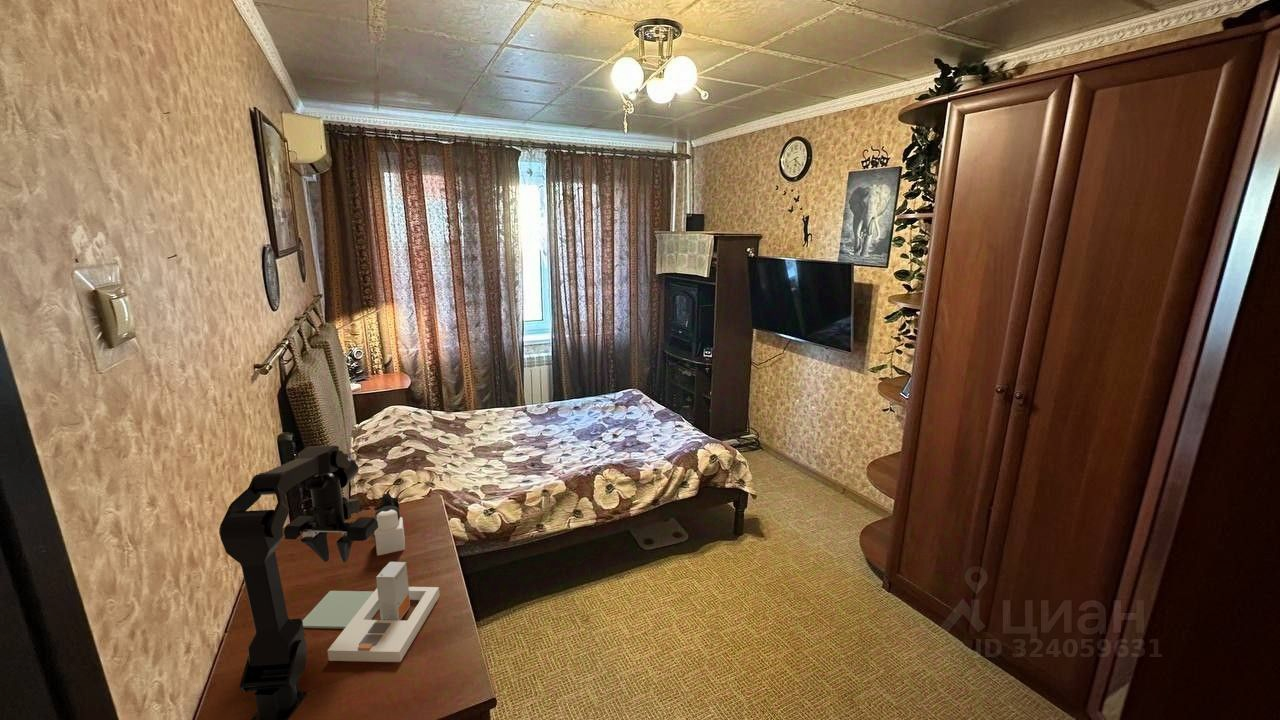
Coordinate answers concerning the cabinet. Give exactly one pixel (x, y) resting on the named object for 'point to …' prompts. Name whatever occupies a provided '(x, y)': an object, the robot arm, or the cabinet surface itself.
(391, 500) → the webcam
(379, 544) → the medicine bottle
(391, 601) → the skincare box
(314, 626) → the mat
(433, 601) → the cream rectangular frame
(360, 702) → the cabinet surface
